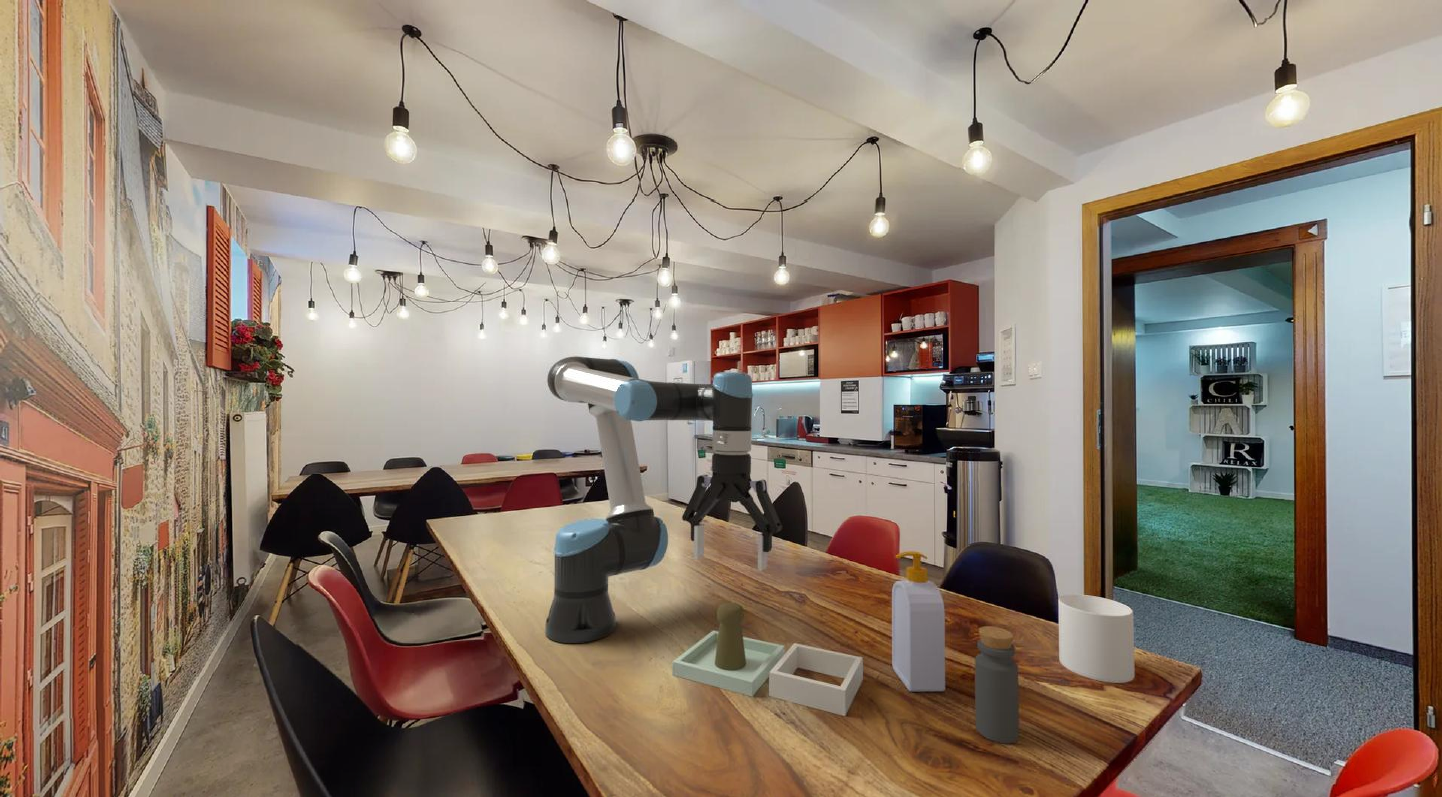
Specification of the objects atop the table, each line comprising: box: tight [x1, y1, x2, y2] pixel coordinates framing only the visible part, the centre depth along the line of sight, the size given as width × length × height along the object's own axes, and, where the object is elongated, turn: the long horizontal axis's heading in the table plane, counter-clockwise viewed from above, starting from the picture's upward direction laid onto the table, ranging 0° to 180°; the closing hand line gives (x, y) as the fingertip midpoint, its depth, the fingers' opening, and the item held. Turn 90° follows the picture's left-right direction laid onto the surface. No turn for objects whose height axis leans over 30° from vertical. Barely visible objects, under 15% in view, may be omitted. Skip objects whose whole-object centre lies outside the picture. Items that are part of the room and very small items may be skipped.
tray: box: [671, 629, 786, 697], centre depth 101 cm, size 16×16×2 cm
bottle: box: [974, 625, 1020, 745], centre depth 80 cm, size 6×6×15 cm
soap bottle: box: [891, 550, 946, 692], centre depth 96 cm, size 9×7×23 cm
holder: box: [768, 643, 864, 717], centre depth 93 cm, size 13×13×4 cm
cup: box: [1058, 593, 1135, 684], centre depth 101 cm, size 12×12×12 cm
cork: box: [715, 602, 746, 671], centre depth 101 cm, size 6×6×11 cm
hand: (729, 563), depth 102 cm, fingers open, 13 cm apart
